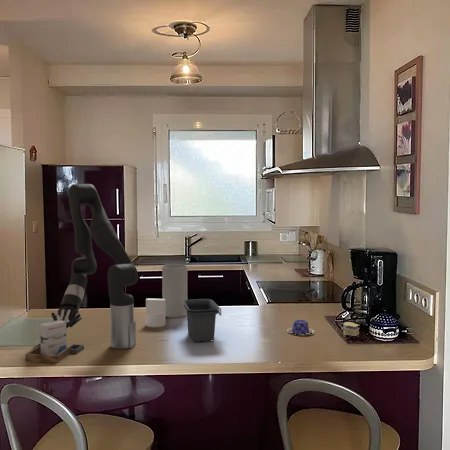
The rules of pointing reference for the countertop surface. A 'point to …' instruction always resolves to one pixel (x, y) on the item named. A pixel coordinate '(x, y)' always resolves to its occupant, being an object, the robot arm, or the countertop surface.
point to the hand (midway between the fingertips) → (59, 335)
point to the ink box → (53, 337)
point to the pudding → (300, 327)
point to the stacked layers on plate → (351, 329)
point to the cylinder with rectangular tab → (155, 312)
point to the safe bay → (45, 356)
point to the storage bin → (201, 318)
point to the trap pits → (73, 348)
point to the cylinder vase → (174, 289)
